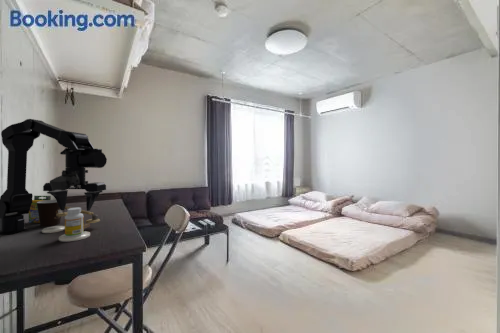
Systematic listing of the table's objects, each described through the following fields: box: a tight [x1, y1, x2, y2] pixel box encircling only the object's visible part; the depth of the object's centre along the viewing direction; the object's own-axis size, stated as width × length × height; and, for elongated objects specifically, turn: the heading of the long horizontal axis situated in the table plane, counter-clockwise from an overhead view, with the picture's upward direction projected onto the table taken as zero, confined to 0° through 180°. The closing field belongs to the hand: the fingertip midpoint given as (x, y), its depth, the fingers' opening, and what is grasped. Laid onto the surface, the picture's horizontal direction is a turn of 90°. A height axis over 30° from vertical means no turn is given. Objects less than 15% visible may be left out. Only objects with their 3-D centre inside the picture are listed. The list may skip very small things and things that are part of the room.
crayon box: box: [28, 195, 52, 224], centre depth 100 cm, size 7×3×12 cm, turn 93°
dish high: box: [41, 225, 65, 234], centre depth 89 cm, size 7×7×1 cm
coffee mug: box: [37, 199, 63, 228], centre depth 98 cm, size 12×9×10 cm
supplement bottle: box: [64, 206, 85, 237], centre depth 82 cm, size 5×5×10 cm
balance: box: [56, 206, 101, 230], centre depth 93 cm, size 17×5×9 cm, turn 91°
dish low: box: [58, 230, 91, 243], centre depth 82 cm, size 9×9×1 cm
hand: (75, 210), depth 82 cm, fingers open, 9 cm apart
